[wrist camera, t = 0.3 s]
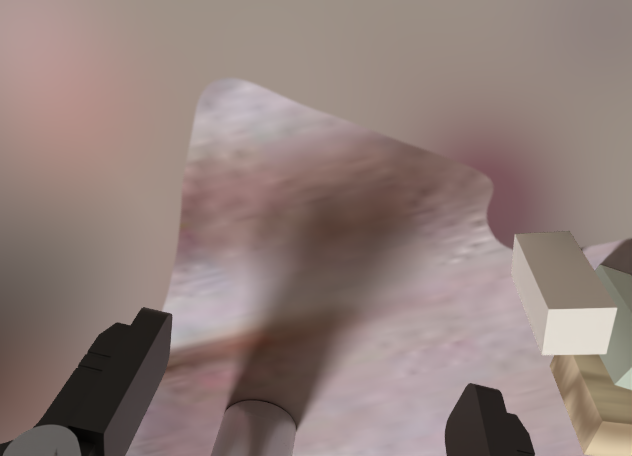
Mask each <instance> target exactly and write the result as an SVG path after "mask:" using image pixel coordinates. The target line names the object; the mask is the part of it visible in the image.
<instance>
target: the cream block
mask: <svg viewBox="0 0 632 456" xmlns="http://www.w3.org/2000/svg"><path fill="white" fill-rule="evenodd" d="M511 276H512V279H513V281H514V284H515V286H516V289H517V292H518V294H519V297H520V300H521V302H522V305H523V307H524V310H525V313H526V315H527V318H528V320H529V323H530V326H531V328H532V331H533V333H534V336H535V339H536V341H537V344H538V347H539V349H540V352H541V354H542V355H590V354H606V353H607V349H608V345H609V341H610V337H611V333H612V328H613V324H614V320H615V316H616V312H617V306H616V304H615V303H614V301H613V300H612V298H611V296H610V295H609V293H608V292H607V290H606V288H605V287H604V285H603V284H602V282H601V280H600V279H599V277H598V276H597V274H596V273H595V271H594V269H593V268H592V266H591V265H590V263H589V261H588V260H587V258H586V257H585V255H584V253H583V252H582V250H581V249H580V247H579V245H578V244H577V242H576V241H575V239H574V238H573V236H572V234H571V233H570V231H562V232H544V233H523V234H515V238H514V249H513V260H512V270H511Z"/></svg>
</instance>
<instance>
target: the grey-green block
mask: <svg viewBox="0 0 632 456" xmlns="http://www.w3.org/2000/svg"><path fill="white" fill-rule="evenodd" d="M595 273H596V274H597V276H598V277H599V279H600V280H601V282H602V284H603V285H604V287H605V288H606V290H607V292H608V293H609V295H610V296H611V298H612V300H613V301H614V303H615V304H616V306H617V312H616V316H615V320H614V324H613V328H612V333H611V337H610V341H609V345H608V349H607V353H606V354H599V356H600V358H601V360H602V362H603V363H604V365H605V367H606V369H607V371H608V373H609V375H610V377H611V379H612V381H613V383H614V385H617V386H620V387H623V388H626V389H629V390H632V275H630V274H627V273H624V272H621V271H618V270H615V269H612V268H609V267H606V266H603V265H599V266H598V268H597V269H596V270H595Z"/></svg>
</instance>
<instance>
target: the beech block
mask: <svg viewBox="0 0 632 456" xmlns="http://www.w3.org/2000/svg"><path fill="white" fill-rule="evenodd" d="M550 368H551V370H552V373H553V376H554V378H555V381H556V383H557V386H558V388H559V391H560V394H561V396H562V399H563V401H564V404H565V407H566V409H567V412H568V414H569V417H570V419H571V422H572V425H573V427H574V430H575V432H576V435H577V437H578V440H579V443H580V445H581V448H582V450H583V453H584V454H585V455H593V456H632V390H629V389H626V388H623V387H620V386H617V385H614V383H613V381H612V379H611V377H610V375H609V373H608V371H607V369H606V367H605V365H604V363H603V362H602V360H601V358H600V356H599V354H590V355H554V358H553V360H552V362H551V365H550Z"/></svg>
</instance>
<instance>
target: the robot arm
mask: <svg viewBox="0 0 632 456" xmlns="http://www.w3.org/2000/svg"><path fill="white" fill-rule="evenodd" d="M171 329H172V314H170V313H166V312H162V311H158V310H153V309H149V308H145V307H143V308H142V309H141V310H140V311H139V313H138V314H137V316H136V318H135V319H134V321H133V323H132V324H131V326H130V325H126V324H121V323H115V324H114V325H112V326H111V327H109V328H108V329H107V330H105V331H104V332H103V333H101V334H99V336H98V337H97V338H96V340H95V341H94V343H93V344H92V346H91V347H90V349H89V350H88V353H87V355H85V356H84V357H83V359H82V360H81V362H80V363H79V365H78V368H76V369H75V371H74V372H73V374H72V375H71V376H70V378H69V379H68V381H67V382H66V384H65V385H64V387H63V388H62V390H61V391H60V392H59V394H58V395H57V397H56V398H55V400H54V401H53V403H52V404H51V406H50V407H49V409H48V410H47V411H46V413H45V414H44V416H43V417H42V418H41V420H40V421H39V422H38V423H37V424H36V426H34V427H33V428H32V429H30V430H28V431H26V432H24V433H22V434H21V435H19V436H18V437H17V438H15V439H14V440H12V441H9V442H6V443H3V444H0V456H125V455H126V453H127V451H128V448H129V446H130V444H131V442H132V440H133V438H134V436H135V434H136V432H137V430H138V428H139V426H140V423H141V421H142V419H143V417H144V415H145V413H146V411H147V409H148V407H149V405H150V403H151V400H152V398H153V396H154V394H155V392H156V390H157V388H158V386H159V384H160V382H161V380H162V377H163V375H164V373H165V370H166V367H167V363H168V360H169V354H170V342H171ZM295 434H296V425H295V422H294V420H293V419H292V417H291V416H290V415H289V414H288V413H287V412H286V411H284V410H283V409H281V408H280V407H278V406H275V405H273V404H270V403H267V402H262V401H250V400H249V401H242V402H239V403H236V404H234V405H232V406H230V407H229V408H228V409H227V410H226V412H225V413H224V416H223V419H222V422H221V425H220V429H219V432H218V435H217V438H216V441H215V444H214V447H213V450H212V453H211V456H292V453H293V447H294V440H295ZM445 445H446V453H447V456H535V452H534V449H533V446H532V442H531V439H530V436H529V433H528V432H527V430H526V429H525V427H524V426H523V424H522V423H521V421H520V420H519V418H518V417H517V415H515V414H510V413H507V411H506V408H505V404H504V400H503V397H502V394H501V392H500V391H499V390H497V389H493V388H489V387H485V386H481V385H476V384H472V383H470V384H468V385H467V386H466V388H465V390H464V391H463V393H462V395H461V397H460V398H459V400H458V402H457V404H456V405H455V407H454V409H453V411H452V412H451V414H450V416H449V418H448V420H447V424H446V429H445Z"/></svg>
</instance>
